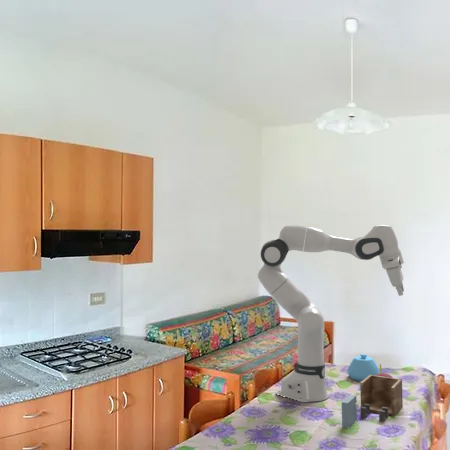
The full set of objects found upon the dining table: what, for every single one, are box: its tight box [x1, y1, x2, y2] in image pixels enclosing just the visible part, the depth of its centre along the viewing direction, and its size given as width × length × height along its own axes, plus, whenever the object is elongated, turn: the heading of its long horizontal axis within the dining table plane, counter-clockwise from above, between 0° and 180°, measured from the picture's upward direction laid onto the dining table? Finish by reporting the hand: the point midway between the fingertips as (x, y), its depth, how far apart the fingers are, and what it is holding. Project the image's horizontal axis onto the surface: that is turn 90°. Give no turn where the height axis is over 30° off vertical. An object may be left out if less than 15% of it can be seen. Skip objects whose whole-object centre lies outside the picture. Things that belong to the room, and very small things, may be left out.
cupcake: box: [376, 364, 394, 378], centre depth 218 cm, size 9×8×12 cm
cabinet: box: [359, 375, 403, 422], centre depth 190 cm, size 13×20×11 cm, turn 147°
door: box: [341, 394, 360, 429], centre depth 178 cm, size 10×3×9 cm, turn 147°
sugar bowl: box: [347, 353, 381, 382], centre depth 236 cm, size 15×15×12 cm
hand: (401, 293), depth 202 cm, fingers open, 8 cm apart
